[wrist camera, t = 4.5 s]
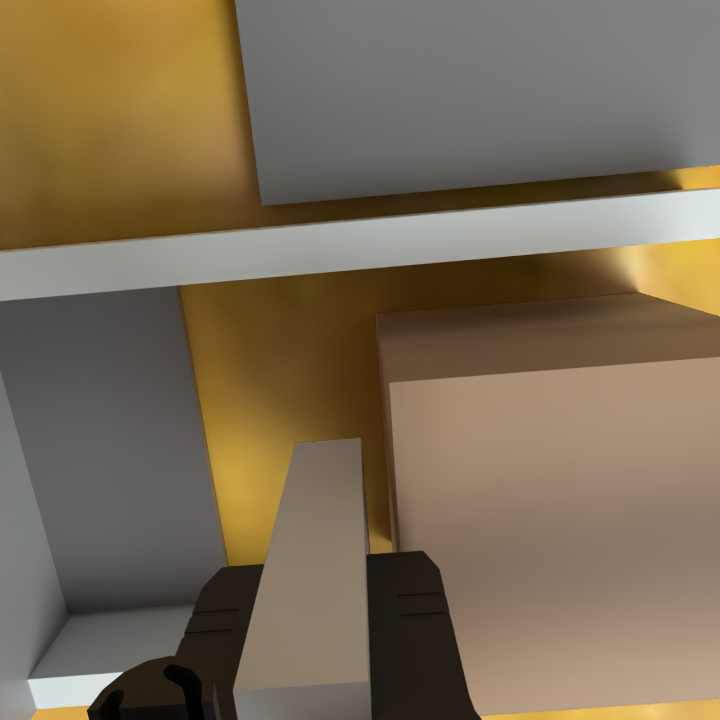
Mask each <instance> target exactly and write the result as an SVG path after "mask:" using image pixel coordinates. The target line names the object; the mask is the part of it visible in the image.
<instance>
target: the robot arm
mask: <svg viewBox="0 0 720 720" xmlns="http://www.w3.org/2000/svg"><path fill="white" fill-rule="evenodd" d="M192 613H193V614H192V617H190V619H189V622H188V624H187V627H186V629H185V632H184V638H182V639H181V642H180V644H179V647H178V649H177V652H176V654H175V656H166V657H162V658H157V659H153V660H148V661H146V662H143V663H141V664H139V665H137V666H135V667H133V668H131V669H129V670H127V671H125V672H123V673H122V674H121V675H120V676H118V677H117V678H116V679H115V680H114V681H112V682H111V683H110V684H109V685H107V686H106V687H105V688H104V689H102V691H101V692H100V694H99V695H98V696H97V698H96V699H95V700H94V702H93V703H92V704H91V706H90V707H89V708H88V710H87V713H88V717H89V720H482V719H481V718H480V717H479V715H478V714H477V712H476V711H475V709H474V706H473V704H472V701H471V698H470V696H469V692H468V687H467V683H466V679H465V675H464V670H463V666H462V662H461V658H460V653H459V649H458V645H457V641H456V636H455V632H454V628H453V624H452V620H451V616H450V611H449V607H448V603H447V598H446V596H445V590H444V586H443V581H442V577H441V573H440V569H439V568H438V566H437V565H436V564H435V563H434V562H433V561H432V560H431V559H430V558H429V556H428V555H427V554H426V553H425V552H424V551H409V552H395V553H381V554H370V542H369V529H368V517H367V505H366V493H365V481H364V469H363V457H362V445H361V438H352V439H338V440H325V441H312V442H298V443H295V445H294V449H293V453H292V457H291V461H290V465H289V469H288V473H287V477H286V481H285V485H284V489H283V493H282V497H281V501H280V505H279V509H278V513H277V517H276V521H275V525H274V529H273V533H272V537H271V541H270V545H269V549H268V553H267V556H266V560H265V564H259V565H245V566H231V567H222V568H221V569H220V570H219V571H218V572H217V573H216V574H215V575H214V576H213V577H212V578H211V579H210V580H209V581H208V582H207V583H206V584H205V585H204V587H203V588H202V589H201V592H200V594H199V597H198V599H197V602H196V604H195V607H194V609H193V612H192Z"/></svg>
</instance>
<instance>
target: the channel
mask: <svg viewBox="0 0 720 720" xmlns="http://www.w3.org/2000/svg"><path fill="white" fill-rule="evenodd" d="M712 238H720V187H719V188H700V189H683V190H672V191H660V192H649V193H638V194H627V195H616V196H604V197H593V198H582V199H571V200H560V201H548V202H537V203H526V204H515V205H503V206H492V207H481V208H470V209H459V210H447V211H436V212H425V213H414V214H403V215H391V216H380V217H369V218H358V219H347V220H335V221H324V222H313V223H302V224H290V225H279V226H268V227H257V228H246V229H234V230H223V231H212V232H201V233H190V234H178V235H167V236H156V237H145V238H134V239H122V240H111V241H100V242H89V243H78V244H66V245H55V246H44V247H33V248H21V249H10V250H0V720H30V719H31V718H32V716H33V714H34V713H35V711H36V710H37V709H45V708H58V707H71V706H84V705H91V704H92V703H93V702H94V700H95V699H96V698H97V696H98V695H99V694H100V692H101V691H102V689H104V688H105V687H106V686H107V685H109V684H110V683H111V682H112V681H114V680H115V679H116V678H117V677H118V676H120V675H121V674H122V673H123V672H125V671H127V670H129V669H131V668H133V667H135V666H137V665H139V664H141V663H143V662H146V661H148V660H153V659H157V658H162V657H166V656H175V654H176V652H177V649H178V647H179V644H180V642H181V639H182V638H184V632H185V629H186V627H187V624H188V622H189V619H190V617H192V614H193V613H192V612H193V609H194V607H195V604H196V602H197V599H198V597H199V594H200V592H201V589H202V588H203V587H204V585H205V584H206V583H207V582H208V581H209V580H210V579H211V578H212V577H213V576H214V575H215V574H216V573H217V572H218V571H219V570H220V569H221V568H222V567H229V565H228V559H227V554H226V548H225V542H224V537H223V531H222V525H221V520H220V514H219V508H218V503H217V497H216V491H215V486H214V480H213V474H212V469H211V463H210V457H209V452H208V446H207V440H206V435H205V429H204V424H203V418H202V412H201V407H200V401H199V395H198V390H197V384H196V378H195V373H194V367H193V361H192V356H191V350H190V344H189V339H188V333H187V327H186V322H185V316H184V310H183V305H182V299H181V294H180V288H179V285H188V284H200V283H211V282H222V281H234V280H245V279H257V278H268V277H279V276H291V275H302V274H313V273H325V272H336V271H348V270H359V269H370V268H382V267H393V266H404V265H416V264H427V263H439V262H450V261H461V260H473V259H484V258H495V257H507V256H518V255H530V254H541V253H552V252H564V251H575V250H586V249H598V248H609V247H621V246H632V245H643V244H655V243H666V242H677V241H689V240H700V239H712Z"/></svg>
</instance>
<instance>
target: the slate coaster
mask: <svg viewBox="0 0 720 720" xmlns="http://www.w3.org/2000/svg"><path fill="white" fill-rule="evenodd" d="M235 6H236V14H237V21H238V29H239V37H240V44H241V52H242V60H243V67H244V75H245V83H246V90H247V98H248V106H249V113H250V121H251V129H252V136H253V144H254V152H255V159H256V167H257V175H258V182H259V190H260V198H261V205H262V206H271V205H283V204H294V203H305V202H316V201H327V200H338V199H349V198H361V197H372V196H383V195H394V194H405V193H416V192H427V191H439V190H450V189H461V188H472V187H483V186H494V185H505V184H517V183H528V182H539V181H550V180H561V179H572V178H583V177H595V176H606V175H617V174H628V173H639V172H650V171H661V170H673V169H684V168H695V167H706V166H715V165H720V0H235Z"/></svg>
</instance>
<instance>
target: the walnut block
mask: <svg viewBox="0 0 720 720" xmlns="http://www.w3.org/2000/svg"><path fill="white" fill-rule="evenodd" d="M375 317H376V331H377V345H378V359H379V373H380V387H381V401H382V415H383V429H384V442H385V456H386V470H387V484H388V498H389V512H390V526H391V540H392V550H393V553H395V552H409V551H424V552H425V553H426V554H427V555H428V556H429V558H430V559H431V560H432V561H433V562H434V563H435V564H436V565H437V566H438V568H439V569H440V573H441V577H442V581H443V586H444V590H445V596H446V598H447V603H448V607H449V611H450V616H451V620H452V624H453V628H454V632H455V636H456V641H457V645H458V649H459V653H460V658H461V662H462V666H463V670H464V675H465V679H466V683H467V687H468V692H469V696H470V698H471V701H472V704H473V706H474V709H475V711H476V712H477V714H478V715H479V716H488V715H502V714H516V713H530V712H544V711H558V710H572V709H586V708H600V707H614V706H628V705H642V704H656V703H670V702H684V701H698V700H712V699H720V317H719V316H716V315H713V314H709V313H706V312H703V311H699V310H696V309H693V308H689V307H686V306H683V305H679V304H676V303H673V302H669V301H666V300H663V299H659V298H656V297H653V296H649V295H646V294H643V293H627V294H615V295H602V296H589V297H577V298H564V299H552V300H539V301H526V302H514V303H501V304H488V305H476V306H463V307H451V308H438V309H425V310H413V311H400V312H387V313H375Z"/></svg>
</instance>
